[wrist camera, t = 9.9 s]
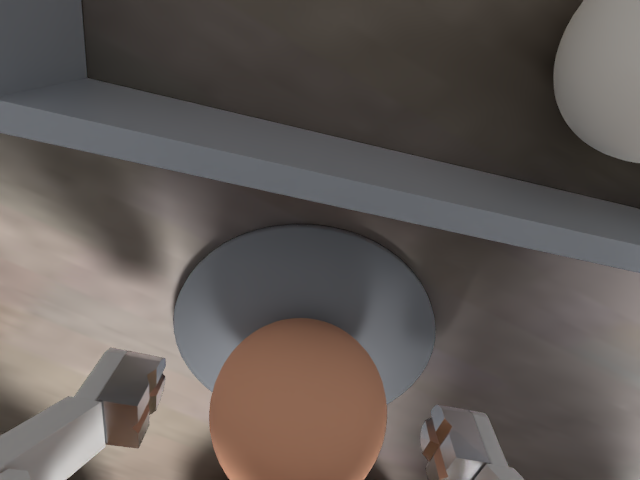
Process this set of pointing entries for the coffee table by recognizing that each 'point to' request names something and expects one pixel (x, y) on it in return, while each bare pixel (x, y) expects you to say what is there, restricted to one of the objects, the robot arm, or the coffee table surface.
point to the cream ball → (602, 76)
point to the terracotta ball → (298, 405)
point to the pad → (306, 299)
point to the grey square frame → (281, 151)
